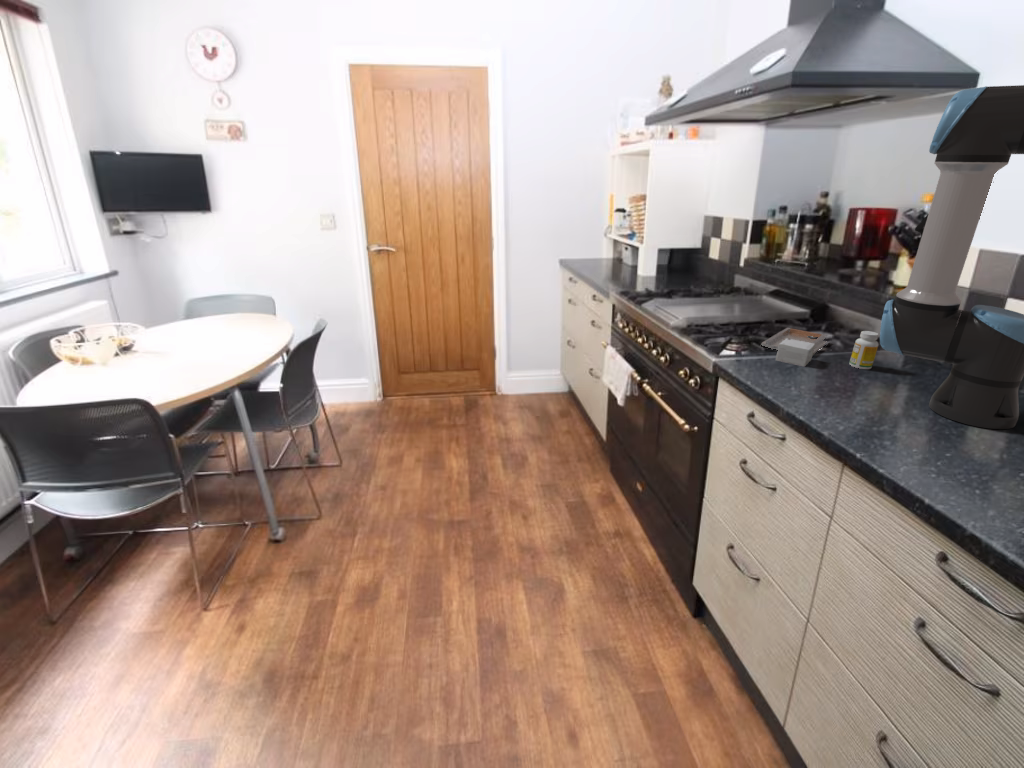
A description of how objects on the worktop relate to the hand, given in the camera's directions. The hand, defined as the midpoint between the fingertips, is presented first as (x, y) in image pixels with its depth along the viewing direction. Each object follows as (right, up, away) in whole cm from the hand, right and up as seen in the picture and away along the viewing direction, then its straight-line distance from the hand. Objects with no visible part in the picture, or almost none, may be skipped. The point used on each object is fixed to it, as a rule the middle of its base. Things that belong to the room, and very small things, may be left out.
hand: (950, 260), depth 151 cm
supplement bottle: (-27, -30, -3) cm, 41 cm away
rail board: (-36, -23, +14) cm, 45 cm away
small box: (-44, -28, +1) cm, 52 cm away
